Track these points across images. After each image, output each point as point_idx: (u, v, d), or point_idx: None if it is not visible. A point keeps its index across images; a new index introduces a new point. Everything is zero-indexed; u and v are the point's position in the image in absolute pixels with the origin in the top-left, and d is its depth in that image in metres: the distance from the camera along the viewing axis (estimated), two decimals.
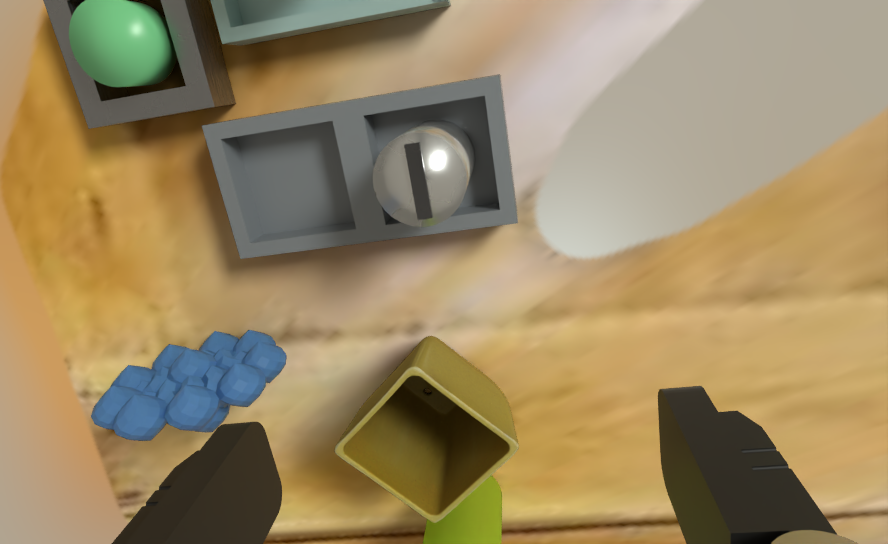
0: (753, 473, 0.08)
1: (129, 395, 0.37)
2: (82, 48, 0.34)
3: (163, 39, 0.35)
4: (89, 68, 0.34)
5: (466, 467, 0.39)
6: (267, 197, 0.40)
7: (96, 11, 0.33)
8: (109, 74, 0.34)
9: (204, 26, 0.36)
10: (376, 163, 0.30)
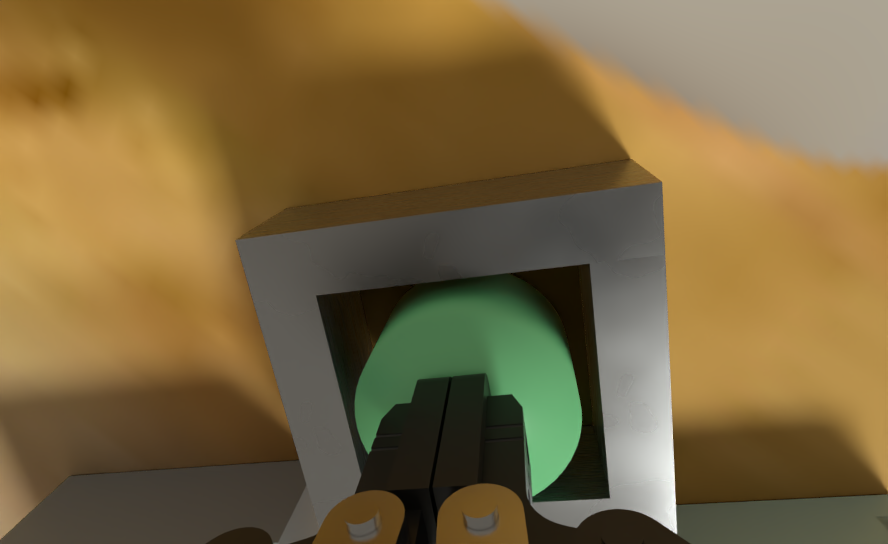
0: (479, 442, 0.10)
1: None
2: (452, 346, 0.12)
3: None
4: (398, 350, 0.12)
5: None
6: None
7: (545, 406, 0.12)
8: (385, 400, 0.13)
9: None
10: None
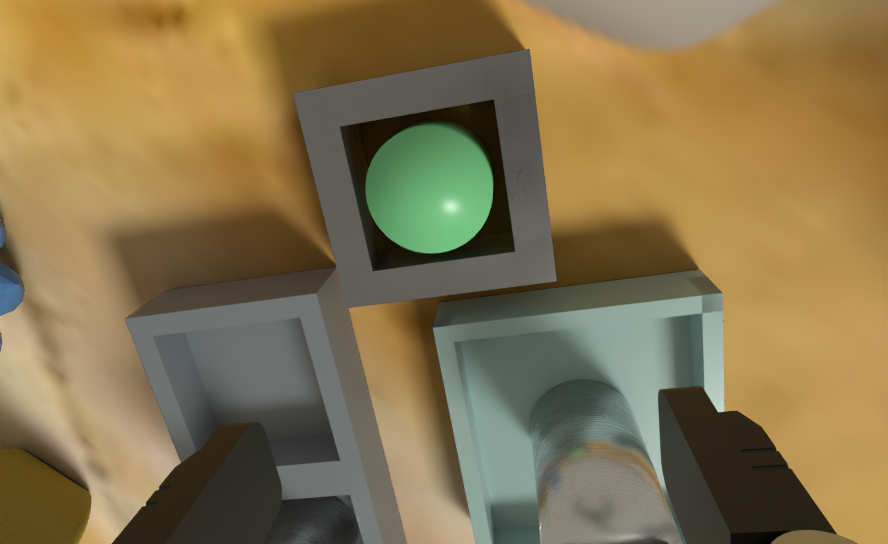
0: (753, 473, 0.08)
1: None
2: (419, 146, 0.22)
3: None
4: (390, 151, 0.22)
5: None
6: (233, 329, 0.28)
7: (472, 181, 0.22)
8: (383, 183, 0.22)
9: None
10: None
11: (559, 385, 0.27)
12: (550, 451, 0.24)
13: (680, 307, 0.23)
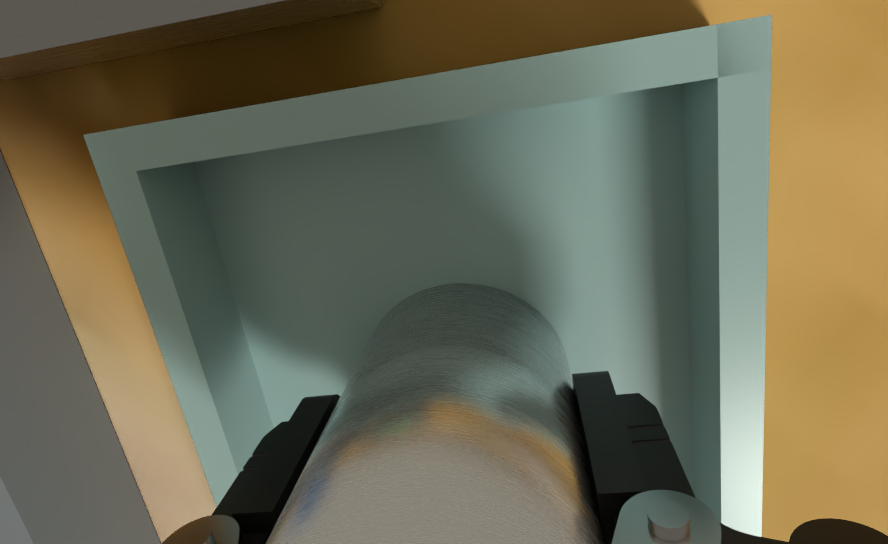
0: (631, 444, 0.09)
1: None
2: None
3: None
4: None
5: None
6: None
7: None
8: None
9: (163, 39, 0.11)
10: None
11: (412, 296, 0.13)
12: (329, 425, 0.09)
13: (661, 62, 0.09)
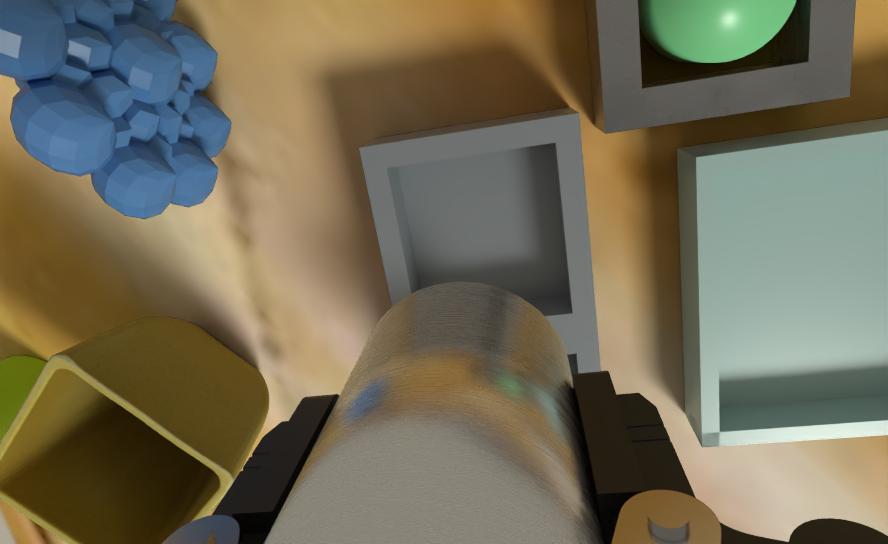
0: (631, 444, 0.09)
1: None
2: None
3: None
4: None
5: (85, 489, 0.27)
6: (455, 174, 0.26)
7: None
8: None
9: None
10: None
11: (412, 295, 0.13)
12: (329, 424, 0.09)
13: None
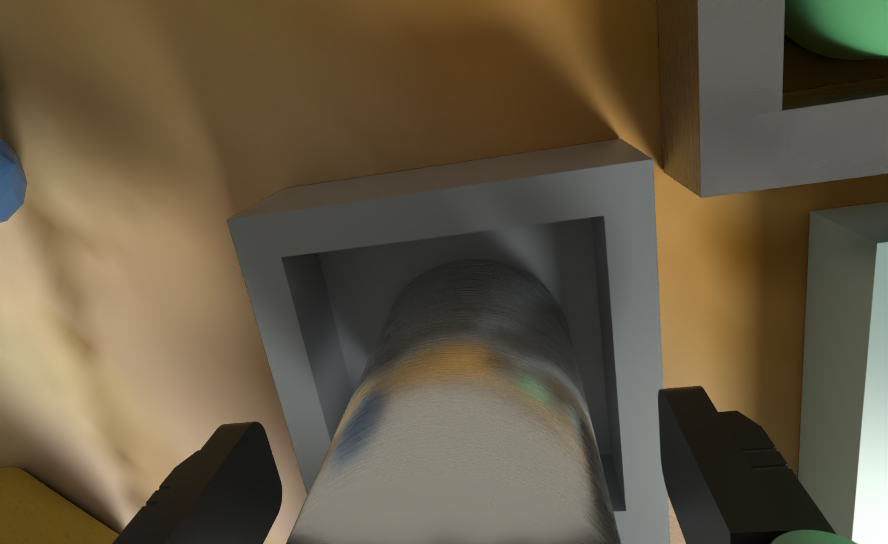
0: (753, 473, 0.08)
1: None
2: None
3: None
4: None
5: None
6: (416, 256, 0.15)
7: None
8: None
9: None
10: None
11: (428, 272, 0.15)
12: (364, 378, 0.11)
13: None
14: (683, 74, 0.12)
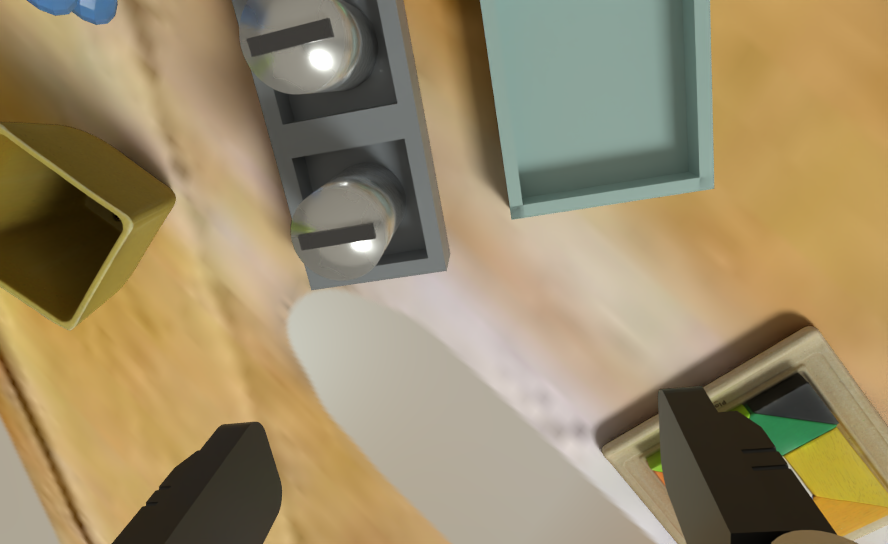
0: (753, 473, 0.08)
1: None
2: None
3: None
4: None
5: (25, 263, 0.35)
6: None
7: None
8: None
9: None
10: (351, 193, 0.29)
11: None
12: None
13: None
14: None
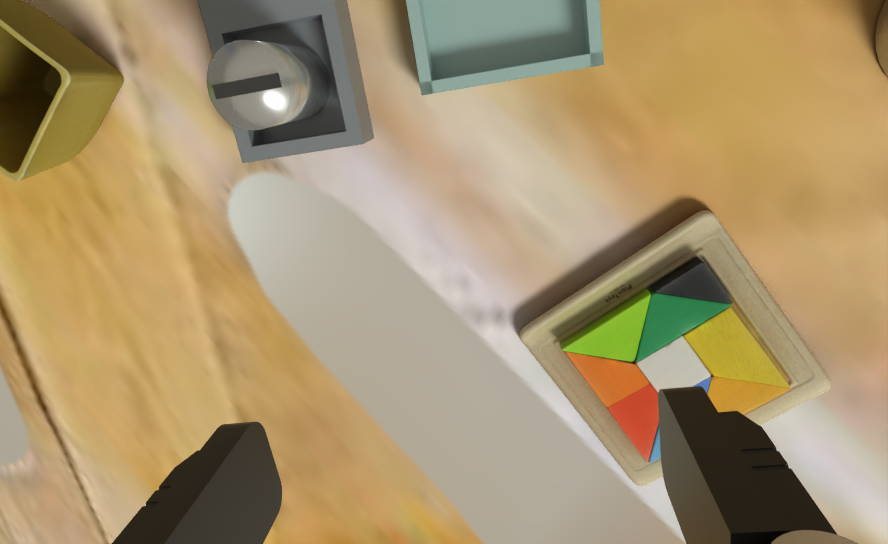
0: (753, 473, 0.08)
1: None
2: None
3: None
4: None
5: None
6: None
7: None
8: None
9: None
10: (258, 44, 0.32)
11: None
12: None
13: None
14: None
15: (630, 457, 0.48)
